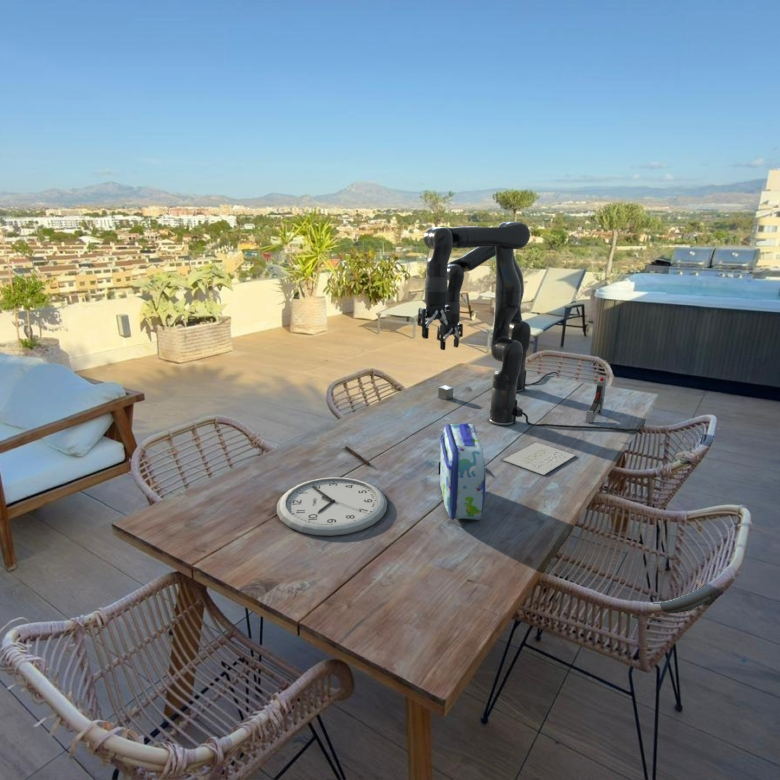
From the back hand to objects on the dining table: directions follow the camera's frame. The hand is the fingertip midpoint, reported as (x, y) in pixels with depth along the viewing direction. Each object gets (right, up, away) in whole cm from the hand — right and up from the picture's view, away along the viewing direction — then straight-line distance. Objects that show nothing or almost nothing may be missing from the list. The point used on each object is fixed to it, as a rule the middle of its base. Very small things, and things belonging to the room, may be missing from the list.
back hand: (449, 348), depth 230 cm
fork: (+2, -42, -61) cm, 74 cm away
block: (-1, -22, +5) cm, 22 cm away
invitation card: (+24, -41, -56) cm, 73 cm away
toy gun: (+57, -30, -17) cm, 66 cm away
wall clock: (-42, -50, -87) cm, 109 cm away
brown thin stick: (-37, -40, -57) cm, 79 cm away
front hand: (-11, 0, -50) cm, 51 cm away
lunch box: (-7, -50, -85) cm, 98 cm away
